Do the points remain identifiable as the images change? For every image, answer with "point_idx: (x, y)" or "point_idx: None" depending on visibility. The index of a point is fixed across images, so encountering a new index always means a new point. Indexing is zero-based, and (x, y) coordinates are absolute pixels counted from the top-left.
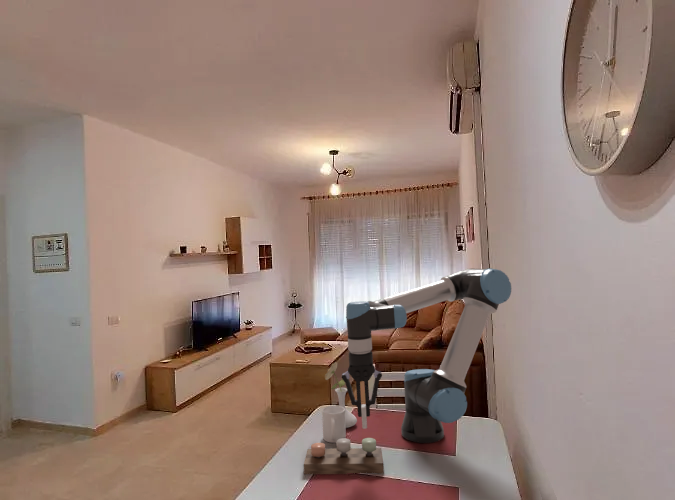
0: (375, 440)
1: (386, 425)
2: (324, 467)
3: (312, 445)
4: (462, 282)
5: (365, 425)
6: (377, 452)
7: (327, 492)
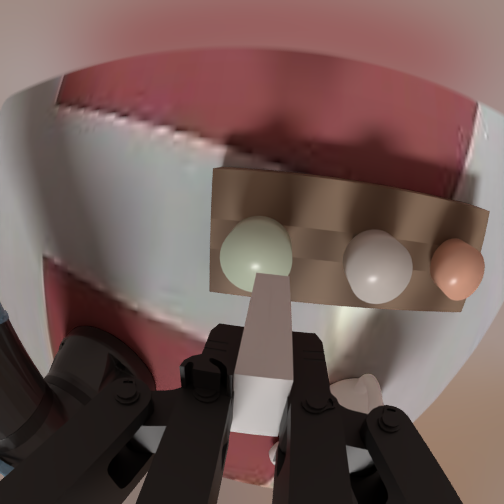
0: (222, 259)
1: None
2: (432, 196)
3: (478, 279)
4: None
5: (265, 282)
6: None
7: (416, 85)
